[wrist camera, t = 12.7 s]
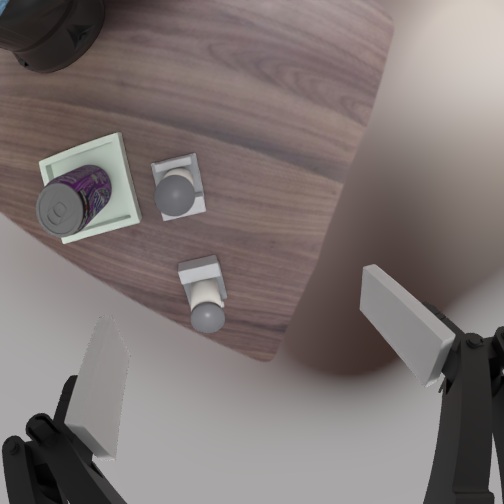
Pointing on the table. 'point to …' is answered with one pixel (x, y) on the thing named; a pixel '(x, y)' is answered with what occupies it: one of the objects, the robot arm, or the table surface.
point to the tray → (117, 168)
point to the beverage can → (73, 200)
